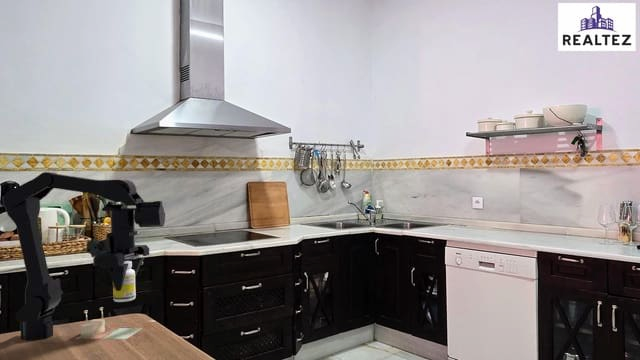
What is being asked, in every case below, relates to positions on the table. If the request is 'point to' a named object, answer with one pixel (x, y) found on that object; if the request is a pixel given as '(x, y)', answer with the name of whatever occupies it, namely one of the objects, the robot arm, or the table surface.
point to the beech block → (92, 328)
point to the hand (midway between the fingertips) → (123, 288)
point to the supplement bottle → (126, 286)
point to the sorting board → (115, 333)
